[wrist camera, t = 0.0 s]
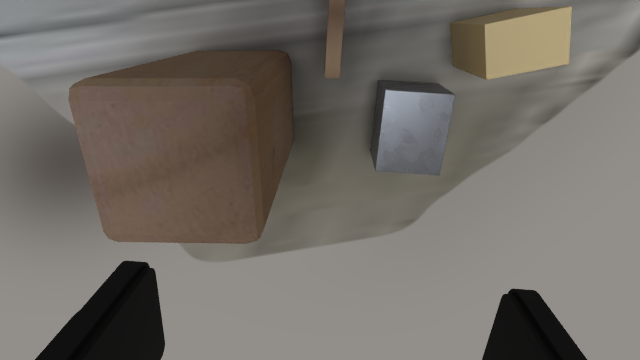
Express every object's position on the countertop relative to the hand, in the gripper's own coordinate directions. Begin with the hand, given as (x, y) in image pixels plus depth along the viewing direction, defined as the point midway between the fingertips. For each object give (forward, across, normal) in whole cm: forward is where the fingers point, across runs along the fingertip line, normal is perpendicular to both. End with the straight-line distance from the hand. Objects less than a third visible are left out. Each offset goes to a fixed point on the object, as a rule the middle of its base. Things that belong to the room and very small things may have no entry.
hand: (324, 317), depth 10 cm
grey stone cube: (+31, -8, +2) cm, 32 cm away
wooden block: (+31, +9, +1) cm, 33 cm away
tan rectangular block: (+31, -14, -6) cm, 35 cm away
